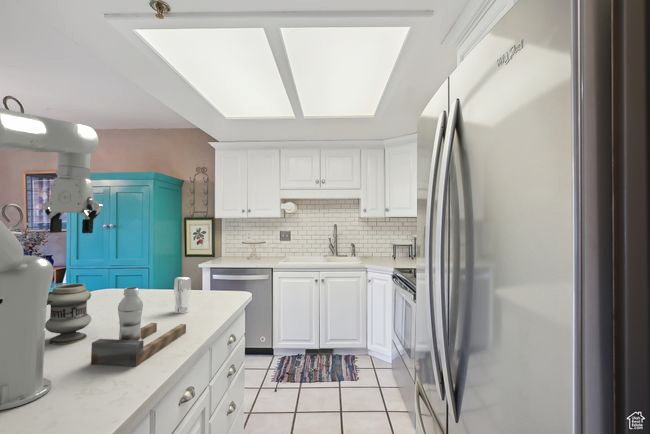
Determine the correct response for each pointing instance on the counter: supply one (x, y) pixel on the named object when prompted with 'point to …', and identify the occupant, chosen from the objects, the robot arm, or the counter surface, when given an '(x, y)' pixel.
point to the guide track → (132, 347)
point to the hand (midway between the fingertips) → (71, 232)
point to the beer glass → (182, 294)
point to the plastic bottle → (130, 315)
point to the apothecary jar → (68, 313)
